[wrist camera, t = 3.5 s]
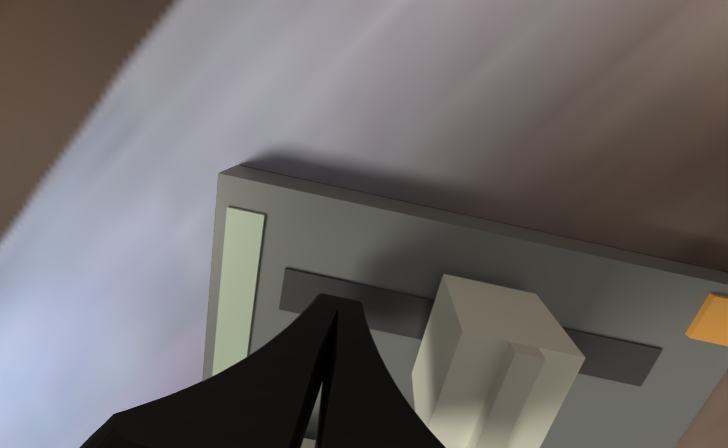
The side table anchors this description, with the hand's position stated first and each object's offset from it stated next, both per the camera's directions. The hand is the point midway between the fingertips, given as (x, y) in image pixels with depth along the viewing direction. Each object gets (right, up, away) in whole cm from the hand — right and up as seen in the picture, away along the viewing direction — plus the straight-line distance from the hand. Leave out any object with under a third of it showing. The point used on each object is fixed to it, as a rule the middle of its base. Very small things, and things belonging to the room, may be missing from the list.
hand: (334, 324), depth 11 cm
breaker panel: (+4, -4, +4) cm, 7 cm away
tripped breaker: (+4, -1, +1) cm, 5 cm away
